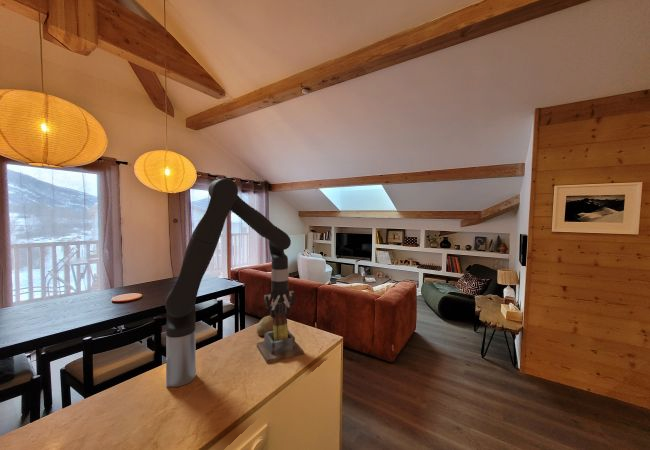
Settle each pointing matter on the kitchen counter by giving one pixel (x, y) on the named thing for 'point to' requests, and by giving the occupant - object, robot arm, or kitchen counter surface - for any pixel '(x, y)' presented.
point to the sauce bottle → (280, 323)
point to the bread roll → (265, 325)
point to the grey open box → (278, 348)
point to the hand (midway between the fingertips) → (279, 316)
